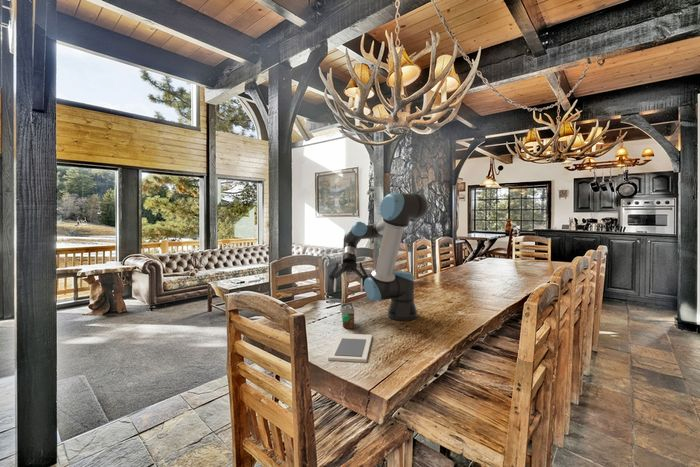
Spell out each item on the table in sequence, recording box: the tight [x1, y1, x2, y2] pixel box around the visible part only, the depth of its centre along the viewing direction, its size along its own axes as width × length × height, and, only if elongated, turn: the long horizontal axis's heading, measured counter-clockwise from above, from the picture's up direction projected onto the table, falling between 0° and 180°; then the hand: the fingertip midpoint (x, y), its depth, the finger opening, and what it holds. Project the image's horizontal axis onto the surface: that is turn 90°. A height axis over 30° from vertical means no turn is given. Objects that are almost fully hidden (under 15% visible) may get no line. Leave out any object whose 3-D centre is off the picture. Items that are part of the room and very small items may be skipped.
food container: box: [339, 301, 355, 331], centre depth 156 cm, size 12×6×10 cm, turn 5°
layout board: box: [327, 333, 373, 363], centre depth 131 cm, size 14×24×1 cm, turn 171°
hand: (348, 290), depth 165 cm, fingers open, 13 cm apart
